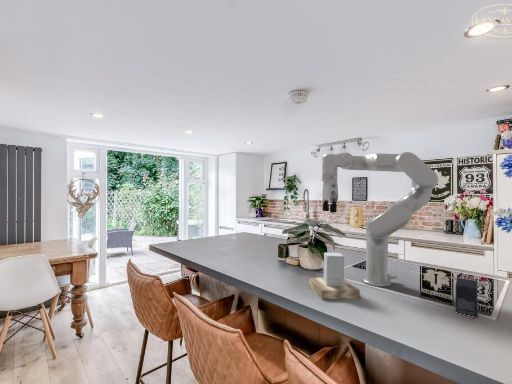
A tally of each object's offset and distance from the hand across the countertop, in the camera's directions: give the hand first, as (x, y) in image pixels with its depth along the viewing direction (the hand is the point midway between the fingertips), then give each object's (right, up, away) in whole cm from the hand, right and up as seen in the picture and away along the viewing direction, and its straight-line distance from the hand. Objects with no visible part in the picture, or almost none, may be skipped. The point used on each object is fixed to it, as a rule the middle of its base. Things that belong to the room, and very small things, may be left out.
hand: (329, 211), depth 135 cm
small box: (+40, -34, -38) cm, 65 cm away
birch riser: (-4, -33, -21) cm, 39 cm away
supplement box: (-4, -30, -21) cm, 36 cm away
